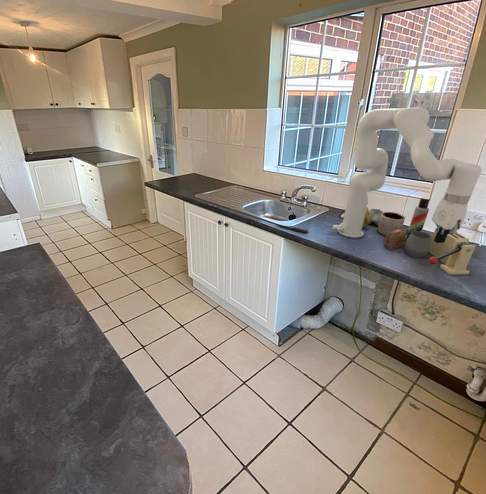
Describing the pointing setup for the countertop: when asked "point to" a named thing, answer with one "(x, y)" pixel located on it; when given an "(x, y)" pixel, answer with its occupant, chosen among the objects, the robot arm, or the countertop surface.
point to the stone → (366, 218)
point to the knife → (295, 229)
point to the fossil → (375, 216)
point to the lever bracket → (459, 259)
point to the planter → (390, 222)
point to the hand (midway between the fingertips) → (438, 241)
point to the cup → (418, 244)
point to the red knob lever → (446, 254)
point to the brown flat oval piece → (395, 238)
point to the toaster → (444, 245)
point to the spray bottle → (419, 216)
